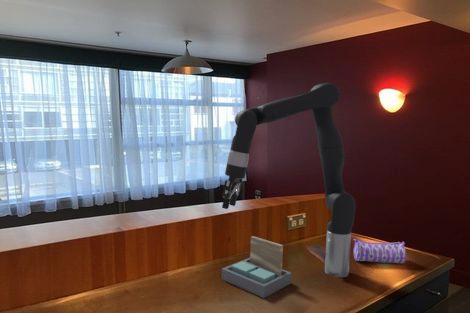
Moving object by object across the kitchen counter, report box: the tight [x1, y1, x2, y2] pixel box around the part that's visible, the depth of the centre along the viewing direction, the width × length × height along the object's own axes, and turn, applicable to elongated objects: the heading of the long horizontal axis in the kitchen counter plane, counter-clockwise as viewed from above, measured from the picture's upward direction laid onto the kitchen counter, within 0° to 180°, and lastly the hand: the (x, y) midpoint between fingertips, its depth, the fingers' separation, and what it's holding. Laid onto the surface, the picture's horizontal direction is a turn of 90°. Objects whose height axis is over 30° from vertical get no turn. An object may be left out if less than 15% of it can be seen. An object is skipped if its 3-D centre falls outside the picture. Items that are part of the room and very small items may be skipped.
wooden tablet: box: [306, 244, 326, 265], centre depth 169 cm, size 26×2×10 cm
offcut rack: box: [221, 257, 293, 299], centre depth 138 cm, size 16×20×5 cm
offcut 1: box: [231, 260, 256, 278], centre depth 139 cm, size 6×7×5 cm
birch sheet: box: [249, 235, 284, 275], centre depth 141 cm, size 2×14×14 cm, turn 47°
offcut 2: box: [249, 268, 275, 284], centre depth 133 cm, size 6×7×5 cm
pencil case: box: [353, 238, 407, 264], centre depth 163 cm, size 22×9×10 cm, turn 89°
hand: (228, 206), depth 139 cm, fingers open, 8 cm apart
